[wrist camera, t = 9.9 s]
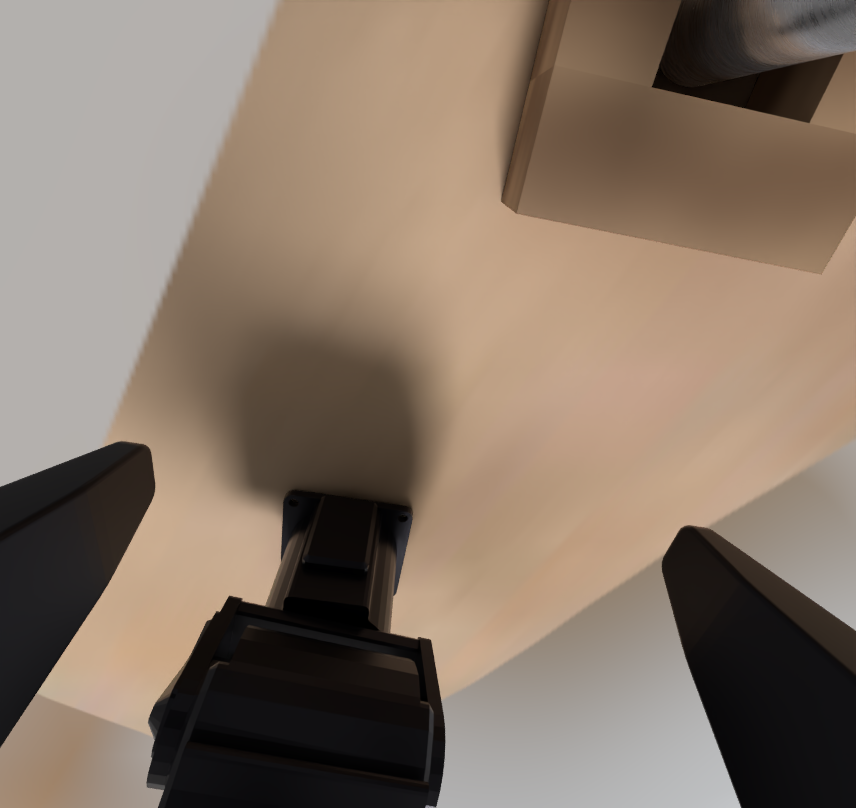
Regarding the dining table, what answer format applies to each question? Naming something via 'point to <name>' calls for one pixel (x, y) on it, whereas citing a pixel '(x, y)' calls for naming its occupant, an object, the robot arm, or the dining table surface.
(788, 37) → the peg
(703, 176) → the hole block
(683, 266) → the dining table surface
